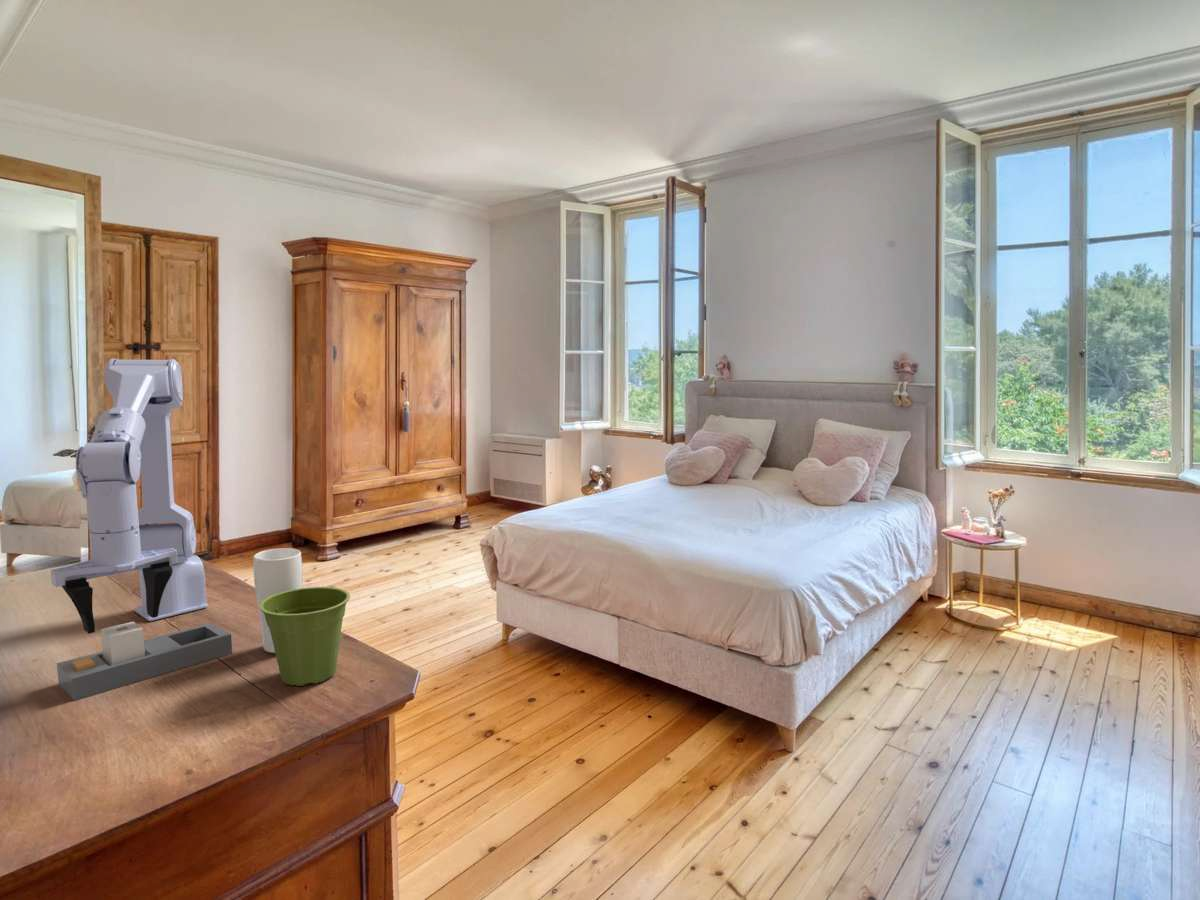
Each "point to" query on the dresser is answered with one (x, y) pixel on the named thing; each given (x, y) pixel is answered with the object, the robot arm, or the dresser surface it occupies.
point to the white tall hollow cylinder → (275, 580)
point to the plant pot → (306, 631)
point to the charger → (122, 643)
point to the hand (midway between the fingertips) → (122, 623)
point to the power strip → (144, 661)
